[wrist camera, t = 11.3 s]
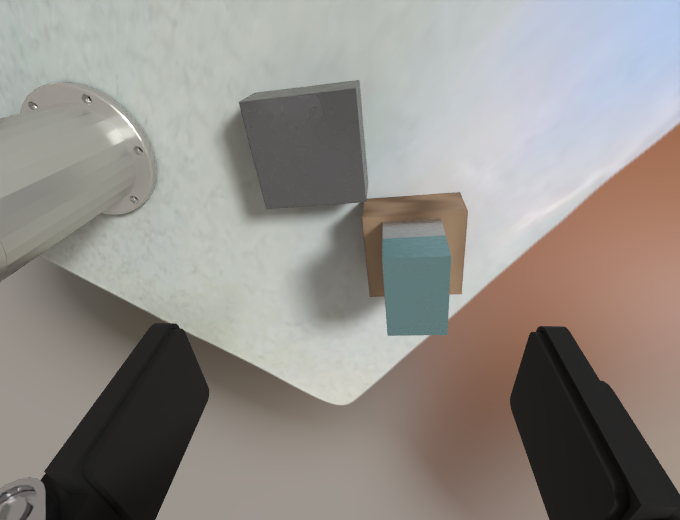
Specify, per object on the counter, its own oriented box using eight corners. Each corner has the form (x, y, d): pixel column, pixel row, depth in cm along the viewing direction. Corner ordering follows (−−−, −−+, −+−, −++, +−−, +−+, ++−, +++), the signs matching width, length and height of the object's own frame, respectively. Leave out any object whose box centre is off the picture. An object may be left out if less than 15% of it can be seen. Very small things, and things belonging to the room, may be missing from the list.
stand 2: (371, 273, 40) (369, 296, 37) (364, 199, 35) (361, 217, 32) (455, 270, 39) (461, 294, 35) (459, 192, 34) (467, 211, 30)
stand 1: (277, 191, 36) (266, 208, 32) (254, 93, 31) (238, 102, 28) (368, 184, 34) (366, 201, 31) (359, 80, 29) (355, 88, 26)
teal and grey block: (382, 221, 32) (382, 258, 27) (440, 217, 31) (451, 255, 26) (387, 292, 36) (387, 335, 31) (438, 290, 35) (447, 334, 30)
